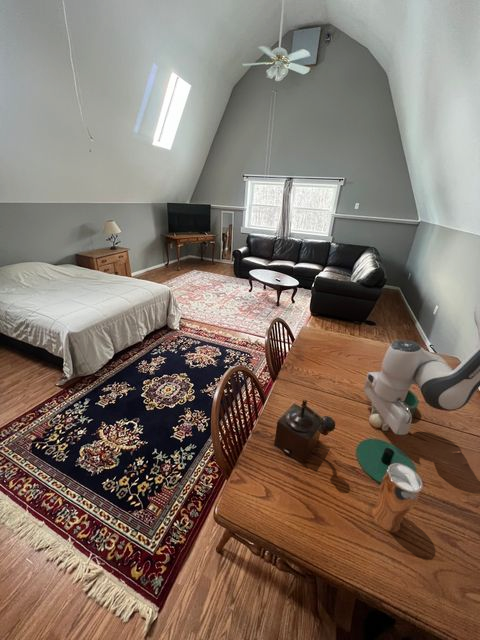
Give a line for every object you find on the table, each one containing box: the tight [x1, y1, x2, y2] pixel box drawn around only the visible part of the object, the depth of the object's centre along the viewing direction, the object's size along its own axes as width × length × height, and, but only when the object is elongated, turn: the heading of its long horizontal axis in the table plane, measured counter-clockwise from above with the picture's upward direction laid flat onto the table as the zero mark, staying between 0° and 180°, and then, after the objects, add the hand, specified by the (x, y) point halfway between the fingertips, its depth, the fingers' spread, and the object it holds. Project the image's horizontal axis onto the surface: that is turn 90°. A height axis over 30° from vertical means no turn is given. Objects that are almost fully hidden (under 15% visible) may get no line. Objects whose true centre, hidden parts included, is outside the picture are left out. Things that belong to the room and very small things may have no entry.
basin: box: [369, 389, 420, 418], centre depth 97 cm, size 15×15×6 cm
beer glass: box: [371, 463, 424, 533], centre depth 60 cm, size 7×7×15 cm
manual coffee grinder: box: [273, 399, 336, 464], centre depth 76 cm, size 16×11×18 cm
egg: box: [368, 413, 385, 429], centre depth 89 cm, size 7×4×4 cm, turn 94°
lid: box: [355, 438, 418, 485], centre depth 75 cm, size 16×16×5 cm
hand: (378, 422), depth 89 cm, fingers closed on egg, 4 cm apart
